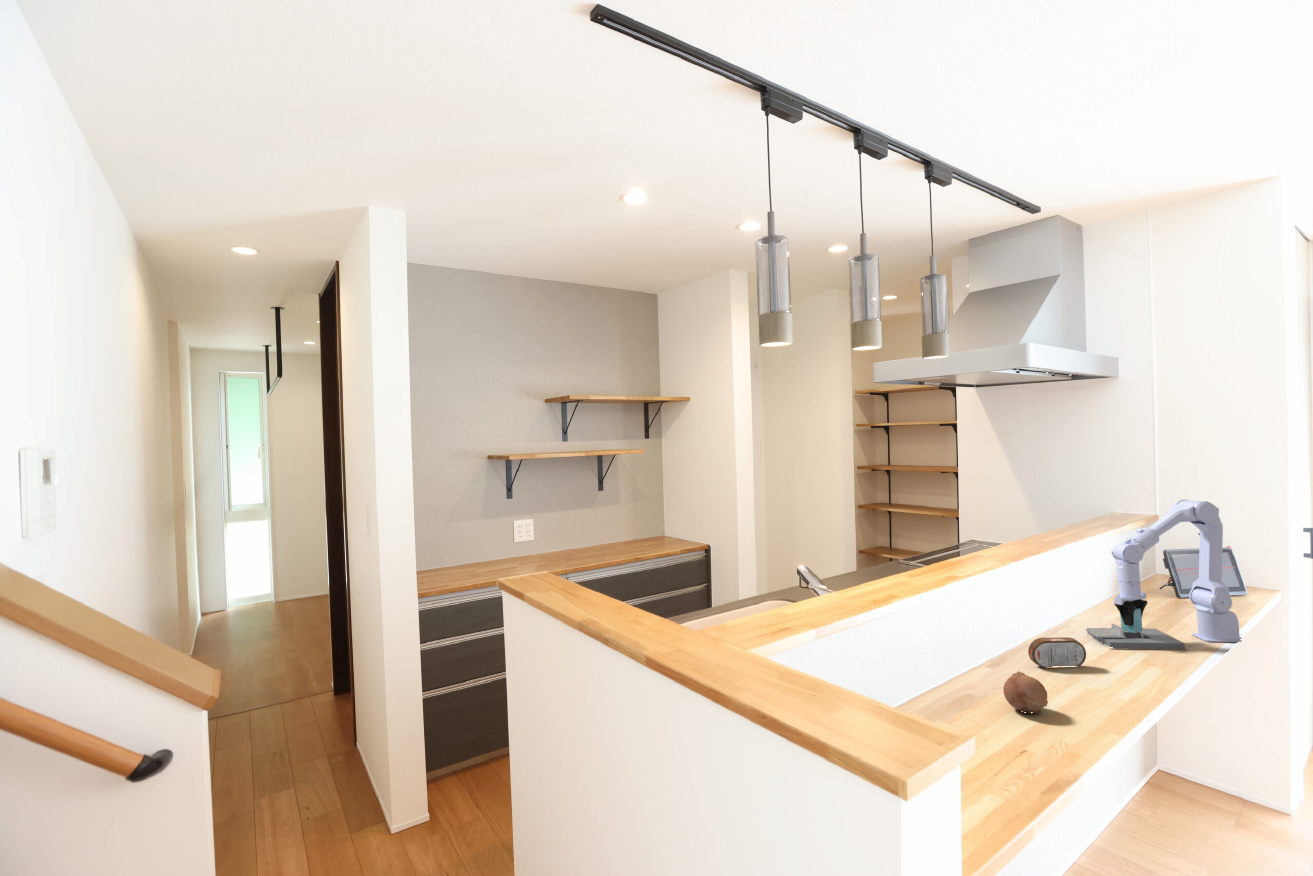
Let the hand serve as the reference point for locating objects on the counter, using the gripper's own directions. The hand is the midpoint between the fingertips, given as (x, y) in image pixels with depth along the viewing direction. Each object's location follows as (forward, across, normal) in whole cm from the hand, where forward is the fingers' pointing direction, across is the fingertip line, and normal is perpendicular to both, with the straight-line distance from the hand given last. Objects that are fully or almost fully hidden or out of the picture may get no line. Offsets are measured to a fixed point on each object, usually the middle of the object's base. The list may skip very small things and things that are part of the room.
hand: (1132, 623), depth 202 cm
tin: (+6, -40, 0) cm, 41 cm away
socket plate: (+6, 0, 0) cm, 6 cm away
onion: (+6, -76, -14) cm, 78 cm away
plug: (+2, 0, 0) cm, 2 cm away
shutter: (+3, -6, +5) cm, 9 cm away
